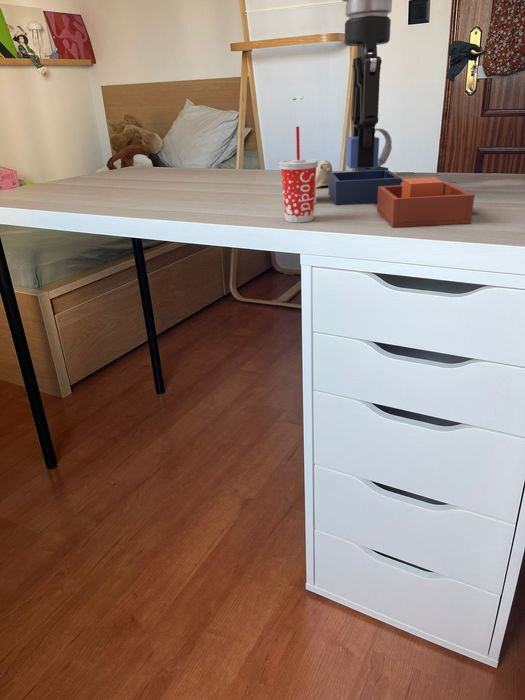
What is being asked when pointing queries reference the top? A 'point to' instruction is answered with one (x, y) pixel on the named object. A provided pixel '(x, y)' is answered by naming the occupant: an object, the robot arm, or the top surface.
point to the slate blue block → (353, 152)
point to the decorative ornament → (323, 173)
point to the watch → (384, 153)
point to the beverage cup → (298, 186)
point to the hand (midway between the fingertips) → (362, 164)
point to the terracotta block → (422, 187)
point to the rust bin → (425, 207)
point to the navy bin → (359, 185)
